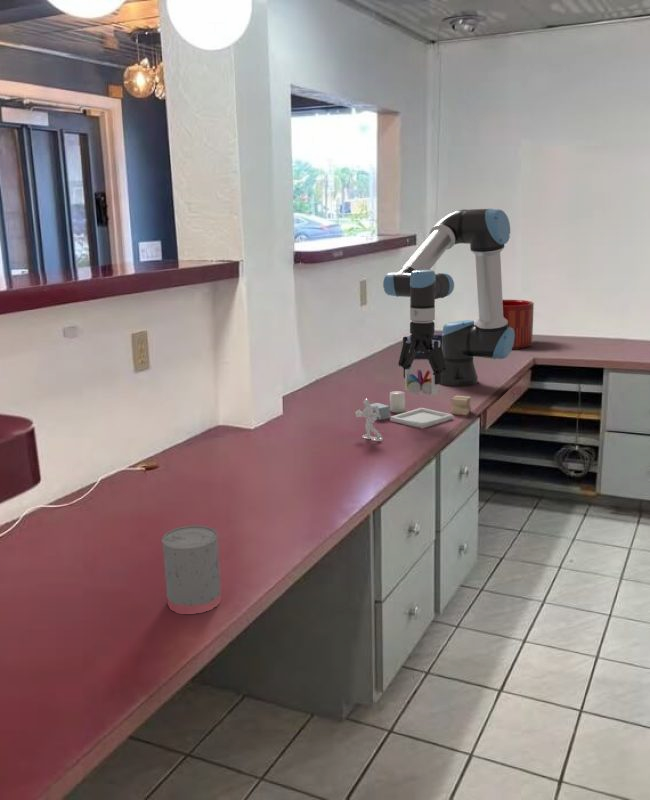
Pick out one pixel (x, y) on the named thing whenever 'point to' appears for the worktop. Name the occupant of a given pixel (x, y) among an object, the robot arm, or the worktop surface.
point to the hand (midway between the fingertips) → (421, 391)
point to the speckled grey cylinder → (191, 565)
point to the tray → (421, 418)
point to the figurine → (370, 420)
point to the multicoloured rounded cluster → (420, 383)
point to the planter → (520, 321)
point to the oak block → (460, 405)
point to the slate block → (382, 410)
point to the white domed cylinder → (397, 401)
